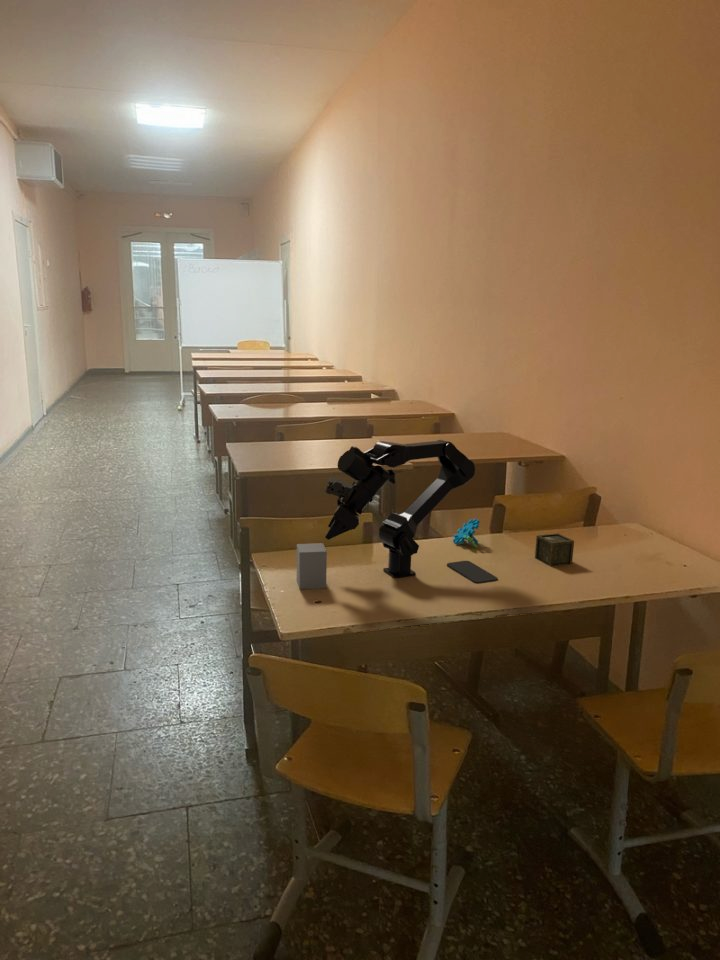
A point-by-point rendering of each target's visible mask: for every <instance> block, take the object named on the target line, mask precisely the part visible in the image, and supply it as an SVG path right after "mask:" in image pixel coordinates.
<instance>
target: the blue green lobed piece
mask: <svg viewBox="0 0 720 960" xmlns="http://www.w3.org/2000/svg"><path fill="white" fill-rule="evenodd" d="M480 523H481V521H480V520H479V519H478V518H475V517H474V518H473V519H469V520H468V522H464V523H463V524H462V528H461V527H460V528H458V529H457V530H456V531H457V532H458V533H455V534H454V535H453V539H452V542H453V543H454V544H456V545H459V544H463V543H464V541H467V543H468V544H469V545H470V544H471V545H472V546H473V547H474V548H475V549H477V548H478V545H477V544H478V543H479V540H478V539H477V538H476V537H475V536H474V535H475V533H476V530H477V529H479V527H480Z"/></svg>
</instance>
